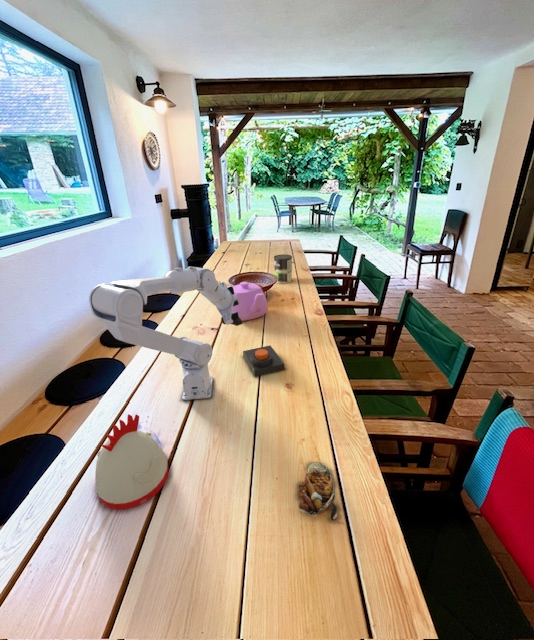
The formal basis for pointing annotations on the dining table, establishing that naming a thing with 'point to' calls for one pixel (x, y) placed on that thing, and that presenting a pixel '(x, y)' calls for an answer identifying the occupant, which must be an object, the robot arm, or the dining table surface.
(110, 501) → the kitchen timer
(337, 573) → the dining table surface
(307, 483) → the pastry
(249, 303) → the teapot
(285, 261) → the coffee can
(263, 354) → the button
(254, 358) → the switch
